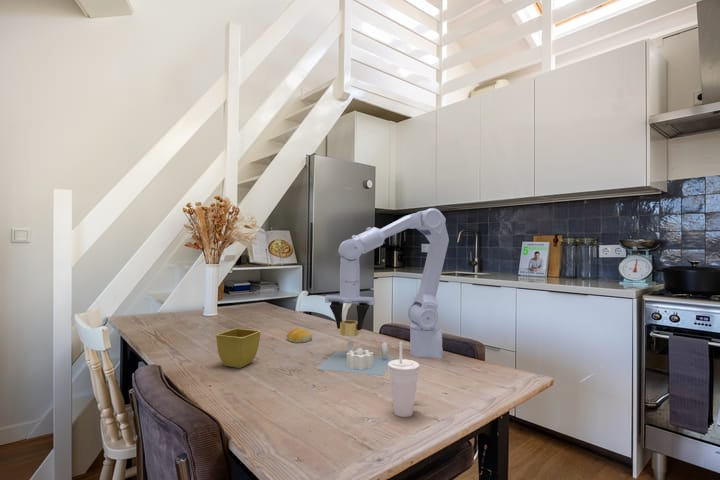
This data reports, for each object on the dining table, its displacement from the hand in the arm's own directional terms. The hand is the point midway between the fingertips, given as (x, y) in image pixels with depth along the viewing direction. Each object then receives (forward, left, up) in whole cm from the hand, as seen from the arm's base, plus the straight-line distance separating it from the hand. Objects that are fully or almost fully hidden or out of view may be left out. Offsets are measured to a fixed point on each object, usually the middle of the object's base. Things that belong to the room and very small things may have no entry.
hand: (349, 328), depth 107 cm
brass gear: (0, 0, -2) cm, 2 cm away
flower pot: (+28, +12, -10) cm, 32 cm away
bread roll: (+25, -18, -10) cm, 32 cm away
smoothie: (-21, +28, -10) cm, 36 cm away
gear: (-5, +7, -8) cm, 12 cm away
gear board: (-4, +4, -9) cm, 11 cm away
